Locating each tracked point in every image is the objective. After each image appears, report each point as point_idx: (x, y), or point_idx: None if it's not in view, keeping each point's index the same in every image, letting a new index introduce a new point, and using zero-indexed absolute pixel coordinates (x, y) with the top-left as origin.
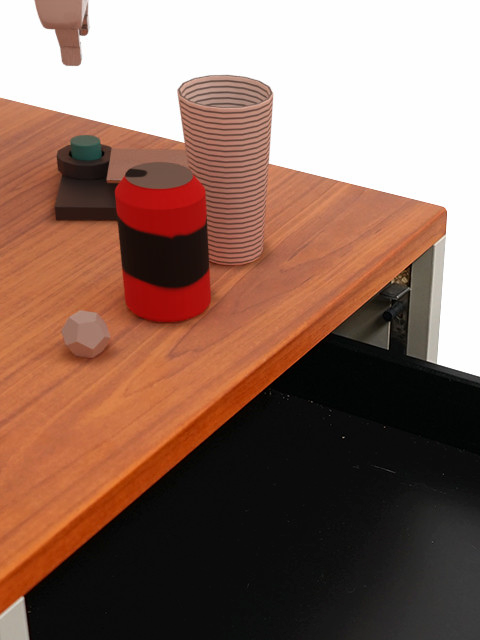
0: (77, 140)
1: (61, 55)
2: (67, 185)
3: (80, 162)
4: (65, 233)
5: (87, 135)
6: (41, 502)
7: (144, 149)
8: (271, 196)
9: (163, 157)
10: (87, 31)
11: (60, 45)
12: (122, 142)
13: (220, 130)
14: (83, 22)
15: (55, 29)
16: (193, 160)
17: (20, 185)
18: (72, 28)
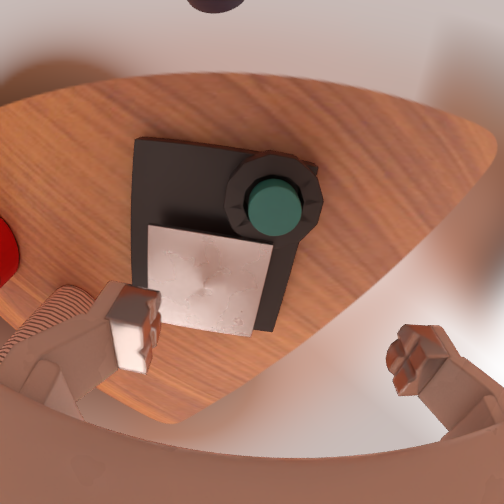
0: (276, 199)
1: (101, 294)
2: (209, 159)
3: (236, 190)
4: (105, 149)
5: (296, 218)
6: None
7: (259, 288)
8: (202, 363)
9: (226, 306)
10: (388, 364)
11: (77, 318)
12: (393, 250)
13: None
14: (399, 377)
15: (10, 352)
16: (2, 348)
17: (274, 90)
18: None
